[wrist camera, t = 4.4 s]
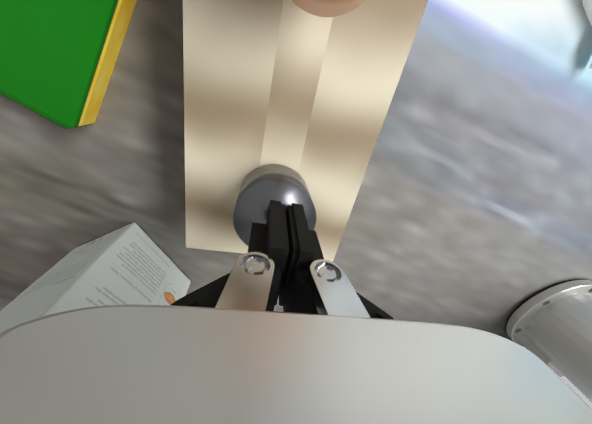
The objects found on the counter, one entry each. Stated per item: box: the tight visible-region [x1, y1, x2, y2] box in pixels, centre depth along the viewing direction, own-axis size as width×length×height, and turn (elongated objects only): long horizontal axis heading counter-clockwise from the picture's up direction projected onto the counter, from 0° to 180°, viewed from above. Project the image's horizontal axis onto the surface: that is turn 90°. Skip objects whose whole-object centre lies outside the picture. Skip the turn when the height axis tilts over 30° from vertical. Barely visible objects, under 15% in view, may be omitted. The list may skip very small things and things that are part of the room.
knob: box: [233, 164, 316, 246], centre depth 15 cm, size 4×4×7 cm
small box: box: [0, 222, 191, 333], centre depth 16 cm, size 8×6×13 cm
